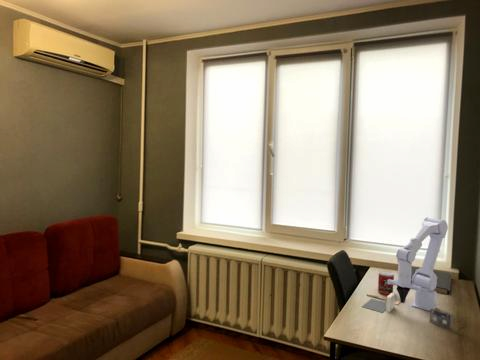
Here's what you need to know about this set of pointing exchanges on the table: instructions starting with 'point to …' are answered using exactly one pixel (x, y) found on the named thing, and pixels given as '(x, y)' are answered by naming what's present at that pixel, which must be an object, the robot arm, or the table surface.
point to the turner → (383, 298)
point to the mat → (375, 305)
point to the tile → (390, 302)
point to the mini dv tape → (440, 318)
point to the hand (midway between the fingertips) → (402, 302)
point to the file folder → (438, 281)
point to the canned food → (385, 282)
